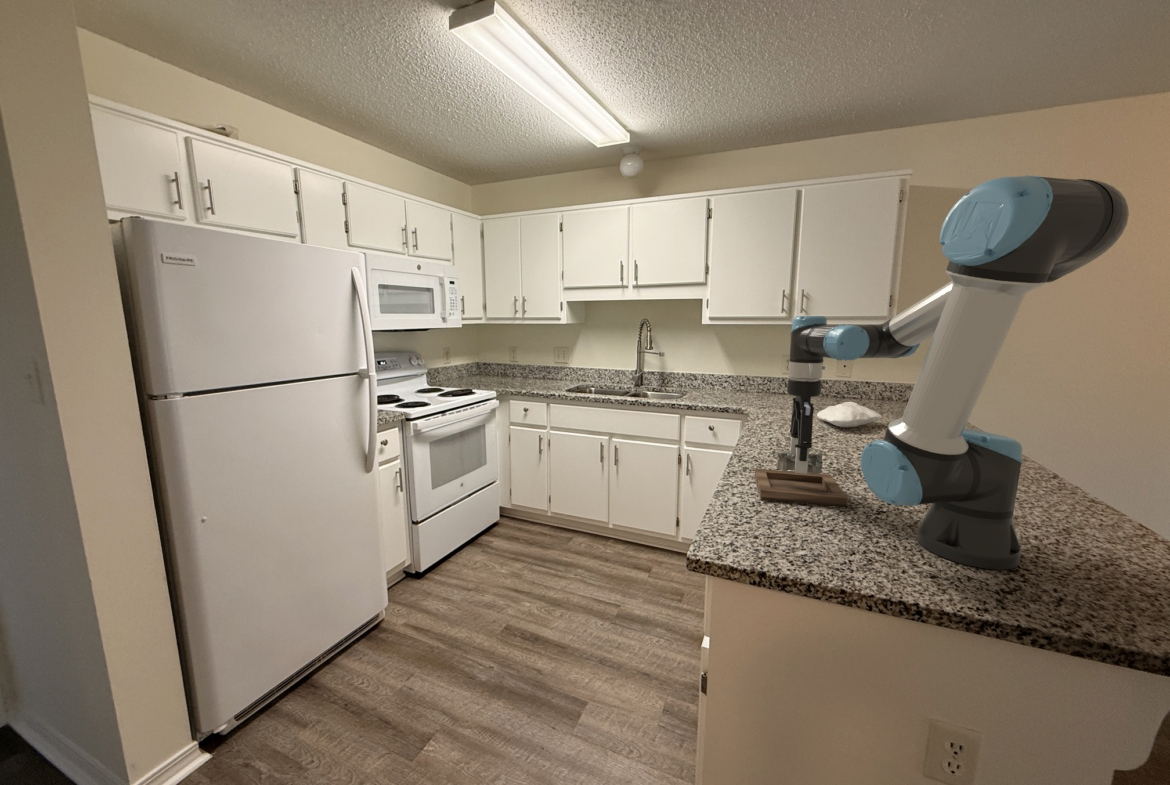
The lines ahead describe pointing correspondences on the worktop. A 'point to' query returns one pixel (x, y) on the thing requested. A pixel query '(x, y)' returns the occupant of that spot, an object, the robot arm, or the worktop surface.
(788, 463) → the egg carton
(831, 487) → the pocket board
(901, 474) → the robot arm
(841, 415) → the crumpled cloth
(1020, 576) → the worktop surface
